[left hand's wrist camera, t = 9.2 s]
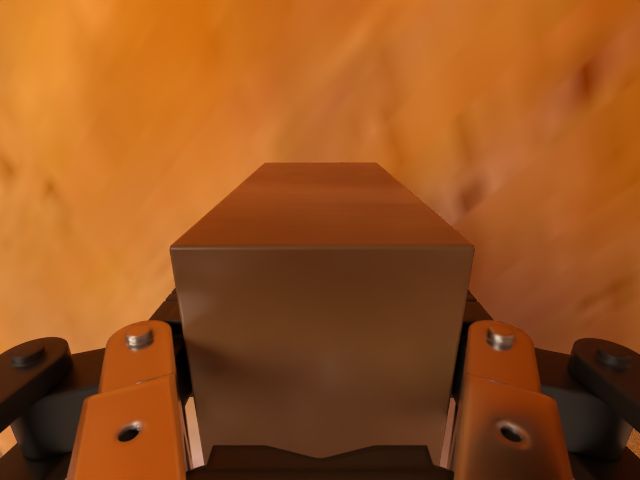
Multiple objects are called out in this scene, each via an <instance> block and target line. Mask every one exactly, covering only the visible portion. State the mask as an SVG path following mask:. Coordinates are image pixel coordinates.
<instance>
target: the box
mask: <svg viewBox="0 0 640 480" xmlns="http://www.w3.org/2000/svg"><path fill="white" fill-rule="evenodd" d="M170 255H171V261H172V268H173V274H174V280H175V286H176V292H177V298H178V305H179V311H180V317H181V323H182V329H183V335H184V342H185V348H186V354H187V360H188V366H189V372H190V379H191V385H192V391H193V397H194V403H195V409H196V416H197V422H198V428H199V434H200V440H201V446H202V453H203V459H204V465H207V462H208V459H209V456H210V453H211V450H212V447H213V445H267V446H271V447H275V448H279V449H283V450H287V451H291V452H295V453H299V454H303V455H307V456H311V457H315V458H325V457H329V456H333V455H337V454H341V453H345V452H349V451H353V450H357V449H361V448H365V447H369V446H373V445H427V447H428V450H429V453H430V456H431V459H432V462H433V465H437V466H439V464H440V458H441V452H442V446H443V440H444V434H445V428H446V421H447V415H448V409H449V403H450V397H451V391H452V385H453V378H454V372H455V366H456V360H457V354H458V348H459V342H460V335H461V329H462V323H463V317H464V311H465V305H466V299H467V293H468V286H469V280H470V274H471V268H472V262H473V256H474V245H473V244H471V243H470V242H469V241H468V240H467V239H466V238H464V237H463V236H462V235H461V234H460V233H458V232H457V231H456V230H455V229H454V228H453V227H451V226H450V225H449V224H448V223H447V222H446V221H444V220H443V219H442V218H441V217H440V216H439V215H437V214H436V213H435V212H434V211H433V210H431V209H430V208H429V207H428V206H427V205H426V204H424V203H423V202H422V201H421V200H420V199H419V198H417V197H416V196H415V195H414V194H413V193H412V192H410V191H409V190H408V189H407V188H406V187H405V186H403V185H402V184H401V183H400V182H399V181H397V180H396V179H395V178H394V177H393V176H392V175H390V174H389V173H388V172H387V171H386V170H385V169H383V168H382V167H381V166H380V165H379V164H378V163H264V164H263V165H262V166H261V167H260V168H258V169H257V170H256V171H255V172H254V173H253V174H252V175H250V176H249V177H248V178H247V179H246V180H245V181H244V182H243V183H241V184H240V185H239V186H238V187H237V188H236V189H235V190H233V191H232V192H231V193H230V194H229V195H228V196H227V197H225V198H224V199H223V200H222V201H221V202H220V203H219V204H218V205H216V206H215V207H214V208H213V209H212V210H211V211H210V212H208V213H207V214H206V215H205V216H204V217H203V218H202V219H200V220H199V221H198V222H197V223H196V224H195V225H194V226H193V227H191V228H190V229H189V230H188V231H187V232H186V233H185V234H183V235H182V236H181V237H180V238H179V239H178V240H177V241H175V242H174V243H173V244H172V245H171V246H170Z"/></svg>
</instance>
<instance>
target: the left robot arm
mask: <svg viewBox="0 0 640 480" xmlns="http://www.w3.org/2000/svg"><path fill="white" fill-rule="evenodd" d="M189 397H193V391H192V385H191V379H190V372H189V366H188V360H187V354H186V348H185V342H184V335H183V329H182V323H181V317H180V311H179V305H178V298H177V292H176V288H175V289H174V290H173V291H172V294H170V295H169V296H168V297H167V298H166V301H164V302H163V303H162V304H161V306H160V307H159V308H158V309H157V310H156V312H155V313H154V314H153V315H152V317H151V318H150V319H149V320H148V321H141V322H137V323H134V324H131V325H128V326H126V327H124V328H122V329H120V330H118V331H117V332H115V333H114V334H113V335H112V336H111V337H110V338H109V340H108V341H107V344H106V348H102V349H97V350H92V351H87V352H82V353H77V354H71V352H70V349H69V345H68V343H67V341H66V340H65V339H62V338H58V337H46V338H40V339H35V340H32V341H28V342H25V343H22V344H20V345H17V346H15V347H13V348H11V349H9V350H7V351H6V352H4V353H2V354H1V355H0V433H1V432H2V431H3V430H4V429H6V428H7V427H8V426H9V425H10V426H11V428H12V431H13V433H14V436H15V438H16V440H17V444H16V445H15V446H13V447H12V448H11V449H10V450H9V451H8V452H7V453H6V454H5V455H4V456H3V457H1V458H0V480H65V479H66V478H67V479H66V480H574V479H575V480H640V458H639V457H637V456H636V455H635V454H634V453H633V452H632V451H631V450H630V449H629V448H628V447H627V446H626V444H627V441H628V439H629V437H630V434H631V432H632V429H633V428H634V429H636V430H637V431H638V432H639V433H640V355H639V354H638V353H636V352H634V351H632V350H631V349H629V348H626V347H624V346H622V345H619V344H616V343H613V342H610V341H606V340H602V339H595V338H583V339H579V340H577V341H576V342H575V343H574V344H573V348H572V351H571V354H570V355H568V354H563V353H558V352H552V351H547V350H542V349H538V348H534V344H533V341H532V340H531V338H530V337H529V336H528V335H527V334H526V333H525V332H523V331H522V330H520V329H518V328H516V327H514V326H512V325H509V324H506V323H503V322H499V321H494V320H493V319H492V318H491V316H490V315H489V314H488V313H487V312H486V310H485V309H484V308H483V307H482V306H481V304H480V303H479V302H477V300H476V298H475V297H474V296H473V295H472V294H471V293H470V291H469V290H468V293H467V299H466V305H465V311H464V317H463V323H462V329H461V335H460V342H459V348H458V354H457V360H456V366H455V372H454V378H453V385H452V391H451V397H450V398H454V400H455V402H456V405H455V410H454V416H453V424H452V432H451V439H450V447H449V455H448V462H447V469H446V468H443V467H440V466H437V465H433V462H432V459H431V456H430V453H429V450H428V447H427V445H373V446H369V447H365V448H361V449H357V450H353V451H349V452H345V453H341V454H337V455H333V456H329V457H325V458H315V457H311V456H307V455H303V454H299V453H295V452H291V451H287V450H283V449H279V448H275V447H271V446H267V445H213V447H212V450H211V453H210V456H209V459H208V462H207V465H203V466H200V467H197V468H194V469H193V462H192V455H191V447H190V439H189V432H188V424H187V416H186V410H185V405H186V403H187V401H188V399H189ZM573 478H574V479H573Z"/></svg>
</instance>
